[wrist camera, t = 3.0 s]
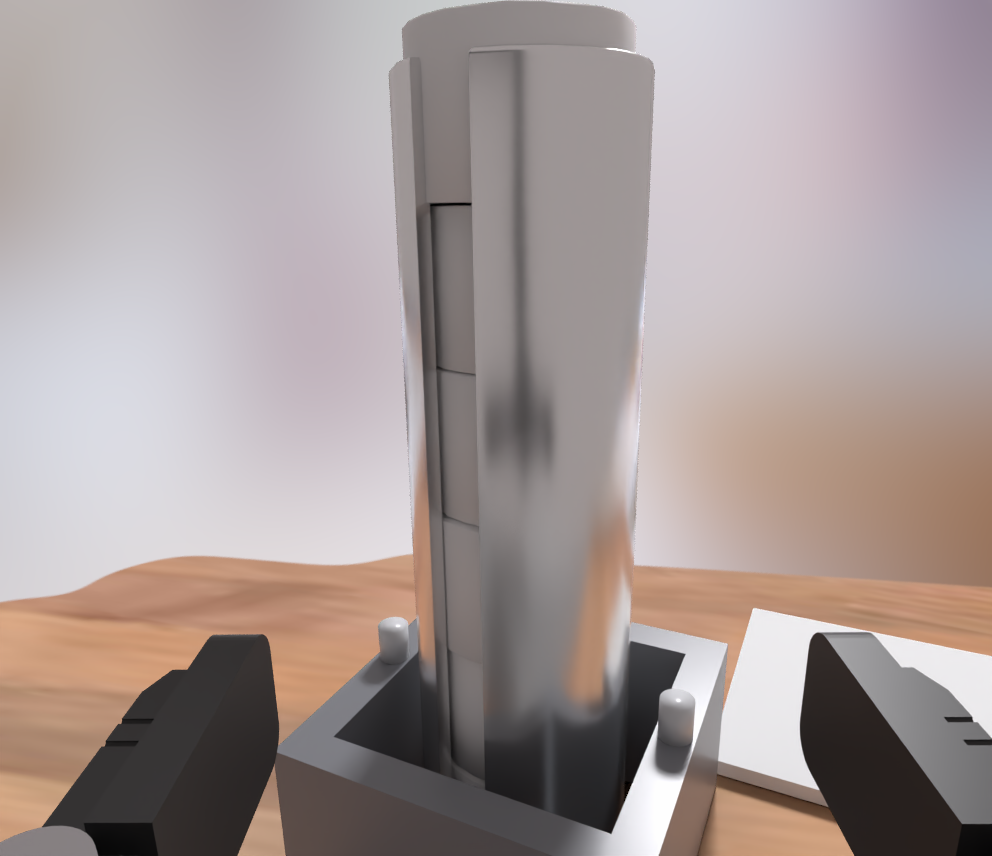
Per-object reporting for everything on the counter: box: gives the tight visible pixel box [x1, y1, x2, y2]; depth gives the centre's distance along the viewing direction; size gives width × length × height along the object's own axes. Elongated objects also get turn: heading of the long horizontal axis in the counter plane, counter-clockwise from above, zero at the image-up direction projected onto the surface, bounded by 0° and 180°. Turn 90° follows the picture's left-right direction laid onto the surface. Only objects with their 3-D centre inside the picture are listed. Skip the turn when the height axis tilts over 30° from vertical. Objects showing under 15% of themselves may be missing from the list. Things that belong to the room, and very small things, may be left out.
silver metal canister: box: [389, 1, 655, 834], centre depth 22 cm, size 6×6×25 cm
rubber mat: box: [717, 608, 992, 807], centre depth 31 cm, size 12×12×1 cm
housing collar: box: [275, 617, 728, 856], centre depth 25 cm, size 11×11×7 cm
